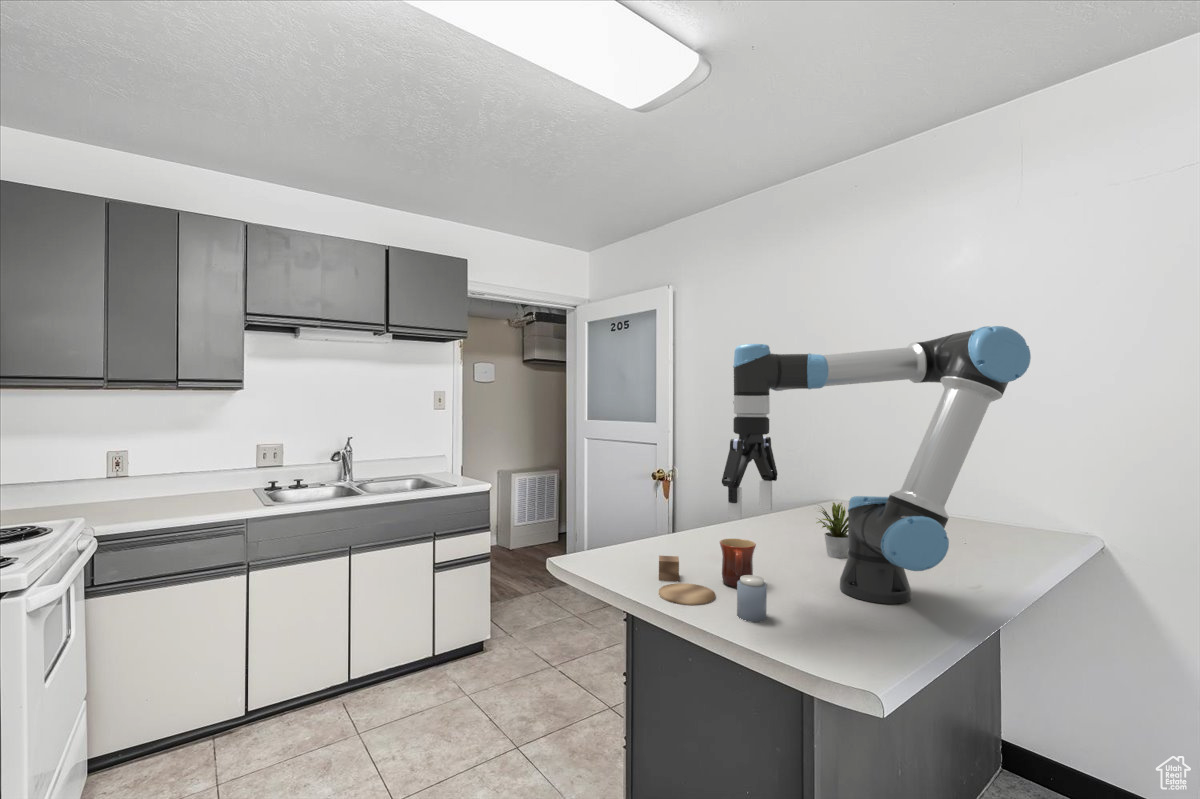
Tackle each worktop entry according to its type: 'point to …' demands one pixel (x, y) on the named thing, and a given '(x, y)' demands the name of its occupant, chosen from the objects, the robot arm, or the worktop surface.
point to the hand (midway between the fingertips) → (750, 514)
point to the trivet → (686, 593)
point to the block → (669, 568)
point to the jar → (751, 598)
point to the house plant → (836, 532)
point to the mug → (736, 559)
